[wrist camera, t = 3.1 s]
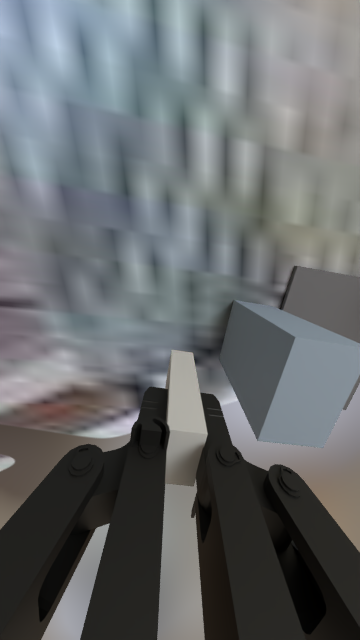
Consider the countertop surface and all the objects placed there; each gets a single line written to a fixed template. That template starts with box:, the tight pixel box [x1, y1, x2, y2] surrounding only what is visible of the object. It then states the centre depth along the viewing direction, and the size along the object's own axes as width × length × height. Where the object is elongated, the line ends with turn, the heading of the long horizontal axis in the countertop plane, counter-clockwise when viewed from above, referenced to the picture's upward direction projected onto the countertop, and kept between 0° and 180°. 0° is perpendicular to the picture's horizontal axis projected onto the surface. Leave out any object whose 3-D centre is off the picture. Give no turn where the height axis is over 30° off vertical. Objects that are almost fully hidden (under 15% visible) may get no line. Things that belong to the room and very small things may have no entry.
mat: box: [281, 266, 360, 410], centre depth 24 cm, size 14×18×1 cm
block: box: [219, 300, 360, 448], centre depth 18 cm, size 5×8×12 cm, turn 170°
